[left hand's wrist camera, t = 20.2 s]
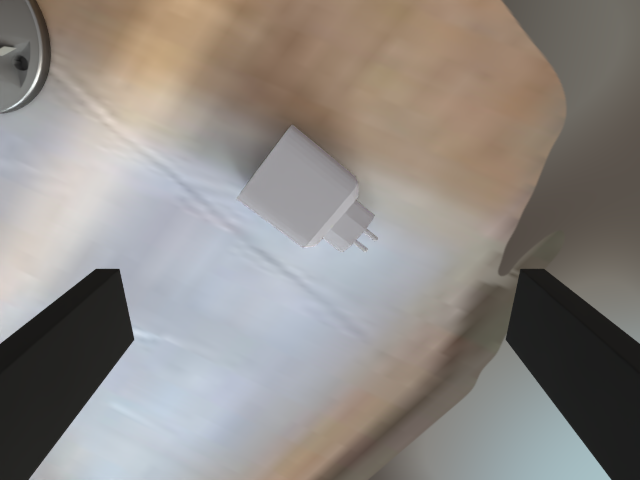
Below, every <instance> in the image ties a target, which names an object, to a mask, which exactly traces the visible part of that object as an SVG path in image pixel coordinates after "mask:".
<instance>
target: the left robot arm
mask: <svg viewBox="0 0 640 480" xmlns="http://www.w3.org/2000/svg"><path fill="white" fill-rule="evenodd" d="M50 56H51V51H50V40H49V34H48V30H47V26H46V23H45V20H44V17H43V15H42V12H41V10H40V8H39V6H38V4H37V2H36V0H0V114H2V113H8V112H12V111H15V110H17V109H20V108H22V107H23V106H25V105H27V104H28V103H29V102H31V101H32V100H33V99H34V98H35V97H36V96H37V94H38V93H39V92H40V90H41V89H42V87H43V85H44V83H45V81H46V78H47V75H48V71H49V66H50ZM133 341H134V336H133V331H132V326H131V322H130V317H129V312H128V307H127V303H126V298H125V293H124V288H123V284H122V279H121V274H120V269H95V270H94V271H93V272H91V273H90V274H89V275H88V276H86V277H85V278H84V279H83V280H81V281H80V282H79V283H77V284H76V285H75V286H74V287H72V288H71V289H70V290H68V291H67V292H66V293H65V294H63V295H62V296H61V297H60V298H58V299H57V300H56V301H54V302H53V303H52V304H51V305H49V306H48V307H47V308H45V309H44V310H43V311H42V312H40V313H39V314H38V315H37V316H35V317H34V318H33V319H31V320H30V321H29V322H28V323H26V324H25V325H24V326H22V327H21V328H20V329H19V330H17V331H16V332H15V333H14V334H12V335H11V336H10V337H8V338H7V339H6V340H5V341H3V342H2V343H1V344H0V480H29V478H30V477H31V476H32V474H33V473H34V472H35V470H36V469H37V468H38V466H39V465H40V464H41V462H42V461H43V460H44V458H45V457H46V456H47V454H48V453H49V452H50V451H51V449H52V448H53V447H54V445H55V444H56V443H57V441H58V440H59V439H60V437H61V436H62V435H63V433H64V432H65V431H66V429H67V428H68V427H69V425H70V424H71V423H72V421H73V420H74V419H75V417H76V416H77V415H78V413H79V412H80V411H81V409H82V408H83V407H84V405H85V404H86V403H87V402H88V400H89V399H90V398H91V396H92V395H93V394H94V392H95V391H96V390H97V388H98V387H99V386H100V384H101V383H102V382H103V380H104V379H105V378H106V376H107V375H108V374H109V372H110V371H111V370H112V368H113V367H114V366H115V364H116V363H117V362H118V360H119V359H120V358H121V356H122V355H123V354H124V353H125V351H126V350H127V349H128V347H129V346H130V345H131V343H132V342H133ZM506 341H507V342H508V343H509V345H510V346H511V347H512V349H513V350H514V351H515V353H516V354H517V355H518V356H519V358H520V359H521V360H522V362H523V363H524V364H525V366H526V367H527V368H528V370H529V371H530V372H531V374H532V375H533V376H534V378H535V379H536V380H537V382H538V383H539V384H540V386H541V387H542V388H543V389H544V391H545V392H546V394H547V395H548V396H549V398H550V399H551V400H552V402H553V403H554V404H555V405H556V407H557V408H558V409H559V411H560V412H561V413H562V415H563V416H564V417H565V419H566V420H567V421H568V423H569V424H570V425H571V427H572V428H573V429H574V431H575V432H576V433H577V435H578V436H579V437H580V439H581V440H582V441H583V443H584V444H585V445H586V447H587V448H588V449H589V451H590V452H591V453H592V454H593V456H594V457H595V458H596V460H597V461H598V462H599V464H600V465H601V466H602V468H603V469H604V470H605V472H606V473H607V474H608V476H609V477H610V478H611V480H640V344H639V343H638V342H637V341H635V340H634V339H633V338H632V337H630V336H629V335H628V334H626V333H625V332H624V331H623V330H621V329H620V328H619V327H618V326H616V325H615V324H614V323H612V322H611V321H610V320H609V319H607V318H606V317H605V316H603V315H602V314H601V313H599V312H598V311H597V310H596V309H595V308H593V307H592V306H591V305H589V304H588V303H587V302H586V301H584V300H583V299H582V298H580V297H579V296H578V295H577V294H575V293H574V292H573V291H572V290H570V289H569V288H568V287H566V286H565V285H564V284H563V283H561V282H560V281H559V280H557V279H556V278H555V277H554V276H552V275H551V274H550V273H549V272H547V271H546V270H545V269H520V274H519V279H518V284H517V288H516V293H515V298H514V303H513V307H512V312H511V317H510V322H509V326H508V331H507V336H506Z"/></svg>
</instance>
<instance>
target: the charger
mask: <svg viewBox="0 0 640 480" xmlns="http://www.w3.org/2000/svg"><path fill="white" fill-rule="evenodd" d="M358 196H359V190H358V181H357V179H356V176H354V175H353V174H352V173H351V172H350V171H348V170H347V169H346V168H345V167H343V166H342V165H341V164H340V163H339V162H337V161H336V160H335V159H334V158H333V157H331V156H330V155H329V154H328V153H327V152H325V151H324V150H323V149H322V148H320V147H319V146H318V145H317V144H316V143H314V142H313V141H312V140H311V139H310V138H308V137H307V136H306V135H305V134H303V133H302V132H301V131H300V130H299V129H297V128H296V127H295V126H294V125H293V124H292V125H291V126H290V127H289V129H288V130H287V131H286V133H285V134H284V135H283V136H282V138H281V139H280V140H279V142H278V143H277V144H276V145H275V147H274V148H273V149H272V151H271V152H270V153H269V155H268V156H267V157H266V159H265V160H264V161H263V163H262V164H261V165H260V167H259V168H258V169H257V171H256V172H255V173H254V175H253V176H252V178H251V179H250V180H249V182H248V183H247V184H246V186H245V187H244V189H243V190H242V191H241V193H240V194H239V195H238V197H237V198H236V199H237V200H238V201H240V202H241V203H242V204H244V205H245V206H246V207H248V208H249V209H251V210H252V211H253V212H255V213H256V214H257V215H259V216H260V217H261V218H263V219H264V220H265V221H267V222H268V223H270V224H271V225H272V226H274V227H275V228H276V229H278V230H279V231H280V232H282V233H283V234H284V235H286V236H287V237H289V238H290V239H291V240H293V241H294V242H295V243H297V244H298V245H299V246H301V247H302V248H306V247H314V246H316V245H317V244H318V243H319V242H320V241H321V240H322V238H323V239H324V240H325V241H327V242H328V243H329V244H331V245H332V246H333V247H334V248H336V249H337V250H338V251H340V252H344V251H345V250H346V249H347V248H349V247H350V246H351V245H352V244H355V245H356V246H357V247H359V248H360V249H361V250H362V251H364V252H367V250H368V249H367V248H366V247H365V246H364V245H362V244H361V243H360V242H358V241H357V239H358V238H359V236H360V235H361V234H362V233H363V232H364V233H365V234H366V235H367V236H369V237H370V238H371V239H373V240H374V241H377V240H378V237H376V236H375V235H374V234H373V233H371V232H370V231H369V230H367V229H366V228H367V227H368V225H369V224H370V222H371V221H372V219H373V218H374V214H373V213H371V212H370V211H369V210H368V209H366V208H365V207H364V206H363V205H361V204H360V203H359V202H358V201H356V199H357V198H358Z"/></svg>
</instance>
